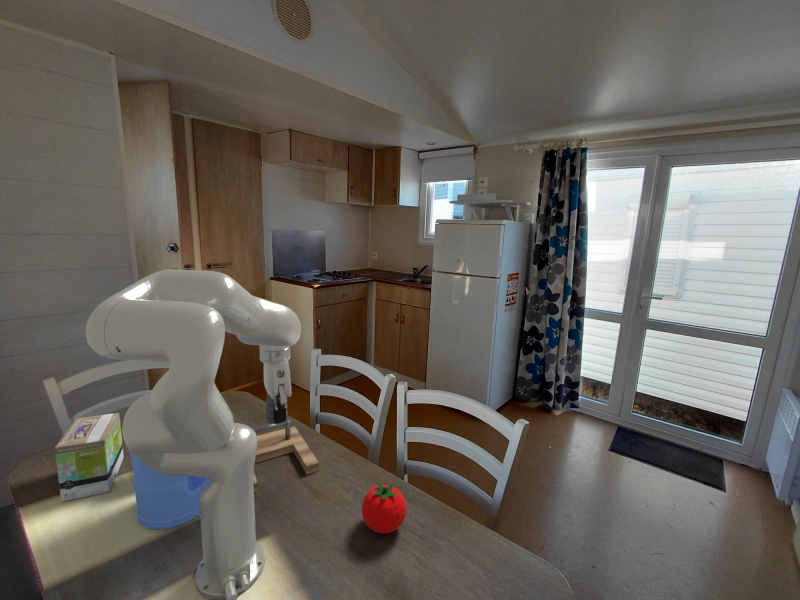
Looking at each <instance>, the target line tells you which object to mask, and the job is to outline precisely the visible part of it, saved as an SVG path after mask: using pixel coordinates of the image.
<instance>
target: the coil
mask: <svg viewBox="0 0 800 600" xmlns="http://www.w3.org/2000/svg"><path fill="white" fill-rule="evenodd" d="M276 397H279V395H277V396H276ZM285 397H286V401H287V403H286V420H288V397H287V395H286V394H285ZM279 402H280V400H277V404H278V403H279ZM265 405H266V407H265V411H266V419H267V423H268V424H275V423H274V418H273V409H275V408H274V400H273V399H272V398H271V397H270V395H269V394H268V395H267V394H266V399H265ZM284 422H285V421H284ZM281 423H283V422H280V423H276V424H281Z"/></svg>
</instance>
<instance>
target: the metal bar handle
mask: <svg viewBox="0 0 800 600" xmlns="http://www.w3.org/2000/svg"><path fill="white" fill-rule="evenodd" d="M291 424H292V419H291V418H289V419H288V418H287V420H286V421H285V422H283V423H281V424H270V423H268V424H266V425H262V426H258V427H254V428H252V429H253V430H254V431H255V433H256V434H257V433H260V432H261V433H262V432H264V431H268V430H273V429H276V428H279V427H284V429H285V439H286V440H289V439H291V430H290V427H291Z"/></svg>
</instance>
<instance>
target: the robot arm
mask: <svg viewBox="0 0 800 600" xmlns="http://www.w3.org/2000/svg"><path fill="white" fill-rule="evenodd" d="M85 326H86V327H85V337H86V342H87V344H88V346H89V347H90V348H91V349H92V351H94V352H95V353H96V354H98V355H99V356H102V357H105V358H106V359H107V358H108V359H111V360H122V361H123V360H126V361H127V360H128V361H147V362H151V361H152V362H170V366H169V369H168V370H167V371H166V372H165V373H164V374H163V375H162V376H161V377H160V378H159V380H158V381H157V382H156V383H155V385H154V386H153V388H152V390H151V392H150V393H146V394H144V395H142V396H140V397H139V398H137V399H136V400H135V401H134V402H133V403H132V404H131V405H130V406H129V407H128V409H127V411H126V412H125V415H124V418H123V420H122V421H123V422H122V426H121V433H122V440H123V442H124V445H125V446H126V448H127V449H128V451H129V450H130V451H131V452H132V453H133V454H134V455H135V456H136V457H138V458H139V459H140V460H141V461H143V462H144V463H145V464H146V465H148V466H149V467H150V468H152V469H153V470H154V471H156V472H158V473H160V474H162V475H167V476H186V477H202V478H209V479H211V480H210V481H209V482H208V483H207V484H206V486H205V487H204V489H203V490H202V492H201V495H200V499H199V510H200V514H199V517H200V518H199V520H200V533H201V534H200V535H201V545H202V547H201V548H202V560H201V561H200V562H199V564H198V566H197V569H196V572H195V585H196V589H197V590H198V592H199V593H200V594H201V595H202V596H204V597H205V598H208V599H211V600H222V599H225V600H238V597H239V596H238V594H240V593H242V592H245V591H247V590H249V588H250V587H251V585H253V584H254V583H255V582H256V581H257V580H258V578H259V577H260V575H261V573H262V572H263V569H264V567H265V562H266V561H265V559H266V558H265V556H266V554H265V550H264V548H263V546H262V545H261V544H260V543H259V542H258V541H257V539H256V538H257V537H256V536H257V534H256V513H255V512H256V511H255V492H254V481H253V478H254V474H255V464H256V463H255V457H256V450H257V436H258V435H257V433H255V431H254V430H253V428H252V427H251V426H249V425H246V424H243V423H238V422H234V421H235V420H234V416H233V413H232V411H231V408H230V407H229V406H228V403H227V402H226V401H225V399H224V398H223V396H222V394H221V393H220V391H219V389H218V387H217V386H216V382H215V380H216V376H217V373H218V369H219V366H220V361H221V356H222V353H223V349H224V343H225V339H226V338H225V337H226V333H229V334H231V335H232V334H233V335H236V338H237V339H238V341H239V342H241V343H243V344H245V345H249V346H251V345H252V346H259V361H260V362H261V363H263V383H264V389H265V391H266V392H267V393H266V396H267V395H268V394H269V395H270V397H271V398H272V399H273V400H274V408H275V409H273V418H274V423H275V424H276V423H280V422H284V421H286V403H287V404H288V400H287V401H286V397H287V398H291V396H292V383H291V370H290V364H289V363H290V362H289V360H290V359H291V346H294V345H295V344H297V342H298V341H299V340H300V338H301V334H302V324H301V321H300V319H299V316H298V315H297V314H296V312H294V311H293V309H291V308H289V307H288V306H285V305H283V304H279V303H277V302H273V301H270V300H267V299H265V298H261V297H258V296H255V295H252V294H251V293H250V292H249V291H247V290H246V289H245V287H243V286H242V285H241V284H239V283H238V282H237V281H236V280H235V279H233V277H231V276H229V275H228V274H225V273H223V272H219V271H214V270H203V269H202V270H197V269H196V270H195V269H174V268H173V269H172V268H171V269H170V268H169V269H163V270H159V271H156V272H154V273H153V272H152V273H151V274H149V275H146V276H145V277H143V278H140V279H139V280H137V281H136V282H134V283H132V284H130V285H129V286H127V287H125V288H123V289H121V290H120V291H118V292H116V293H114V294H113V295H111V296H110V297H108V298H107V299H105V300H103V301H102V302H101V303H99V304H98V305H97V306H96V307H95V309H94V310H93V311H92V313H91V314H90V315H89V317H88V320H87V322H86V325H85ZM285 394H286V397H285ZM277 395H279V397H276V396H277ZM277 400H280V402H279V403H278V404H277Z"/></svg>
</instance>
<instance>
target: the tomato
mask: <svg viewBox="0 0 800 600" xmlns="http://www.w3.org/2000/svg"><path fill="white" fill-rule="evenodd" d="M376 483H377V485H376V486H373V487H371V488H370V489H369V490H368V492H367V493H366V494H365V496H364V497H363V501H362V506H361V514H362V519H363V521H364V523H365V524H366V526H367V527H368V528H369V529H370V530H372V531H373V532H375V533H379V534H389V533H393V532H395V531H396V530H397V529H399V528H400V527H401V525H402V524H403V523H404V521H405V518H406V516H407V501H406V499H405V497H404V495H403V493H402V492H401V491H400V490H399V489H397V488H396V487H394V486H395V482H393V483H390V485H388V484H381V483H380V482H378V481H376Z"/></svg>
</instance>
